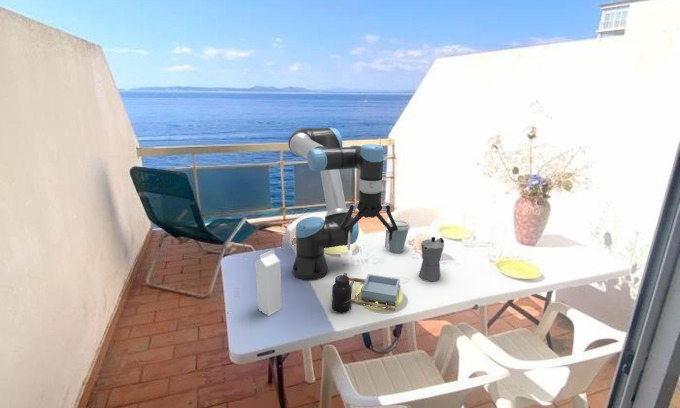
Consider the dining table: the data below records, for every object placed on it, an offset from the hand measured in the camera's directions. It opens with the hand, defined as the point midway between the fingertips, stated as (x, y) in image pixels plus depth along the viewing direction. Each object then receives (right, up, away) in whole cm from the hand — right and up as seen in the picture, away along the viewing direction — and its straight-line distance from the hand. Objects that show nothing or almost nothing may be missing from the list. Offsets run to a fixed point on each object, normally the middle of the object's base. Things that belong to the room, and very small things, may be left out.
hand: (367, 248), depth 123 cm
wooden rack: (+1, -19, +10) cm, 21 cm away
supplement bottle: (-9, -22, 0) cm, 23 cm away
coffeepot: (+29, -15, +24) cm, 40 cm away
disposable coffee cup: (+18, -7, +47) cm, 51 cm away
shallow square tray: (+6, -19, +8) cm, 21 cm away
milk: (-35, -22, -1) cm, 41 cm away
